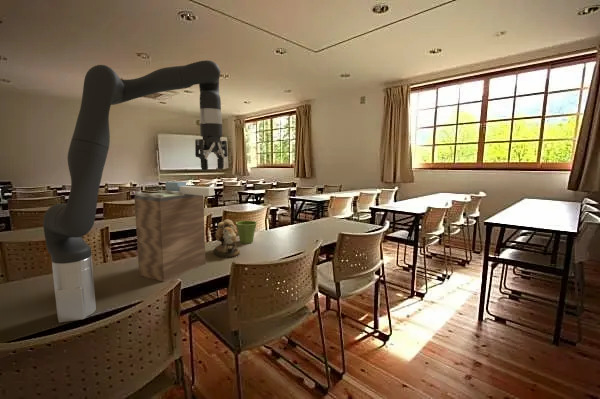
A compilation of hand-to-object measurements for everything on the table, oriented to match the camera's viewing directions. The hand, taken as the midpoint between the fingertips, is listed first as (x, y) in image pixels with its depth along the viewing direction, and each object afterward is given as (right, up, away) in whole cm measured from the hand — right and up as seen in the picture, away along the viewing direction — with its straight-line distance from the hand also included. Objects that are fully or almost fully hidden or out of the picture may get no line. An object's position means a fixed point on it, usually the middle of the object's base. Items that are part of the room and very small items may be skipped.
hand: (212, 169), depth 106 cm
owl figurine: (-6, -38, +42) cm, 56 cm away
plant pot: (+1, -35, +61) cm, 70 cm away
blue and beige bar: (-14, -8, +17) cm, 24 cm away
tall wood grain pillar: (-22, -40, +19) cm, 50 cm away
